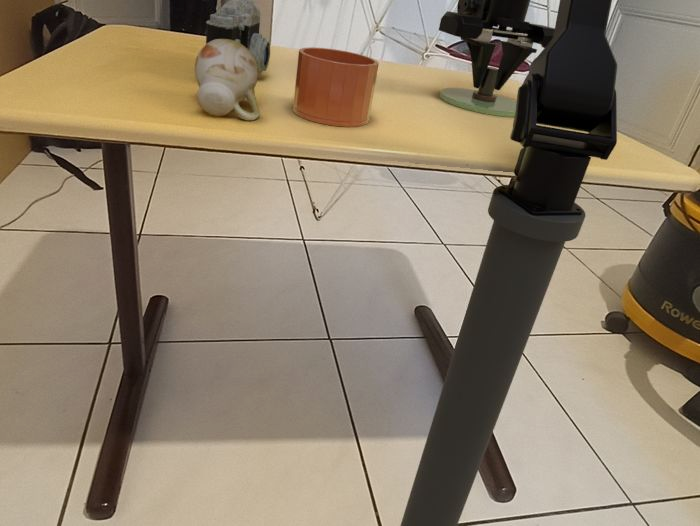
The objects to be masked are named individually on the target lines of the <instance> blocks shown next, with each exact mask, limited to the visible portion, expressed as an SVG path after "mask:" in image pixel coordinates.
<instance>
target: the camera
mask: <svg viewBox="0 0 700 526" xmlns="http://www.w3.org/2000/svg"><path fill="white" fill-rule="evenodd" d="M205 23H206V27H205V28H206V31H205V32H206V33H205V39H206V40H205V45H206V44H207V43H209V42H210V41H212V40H215V39H229V40H233V41H236V42H238V43H240V44H242V45H243V46H245V47H246V48H247V49H248V50H249V51H250V52H251V54H252V55H253V57H254V59H255V60H256V63H257V67H258V74H261V73H263V72H266V71H267V70H268V67H269V64H270V59H271V42H270V41H268V40H267V39H266V37H263V34H261V33H260V27H261V26H260V25H261V12H260V9H259V7H258V5H257V4H256V2H255V1H254V0H228V1H226V2H225V3H224V4H223V5H222V6H221V7H220V10H218V11H217V12H214V13H212V14H210V15H209V19H208V20H206V22H205Z"/></svg>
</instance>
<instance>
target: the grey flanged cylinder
mask: <svg viewBox="0 0 700 526" xmlns="http://www.w3.org/2000/svg"><path fill="white" fill-rule="evenodd" d="M498 74H499V69H498V68H497V67H493V66H488V68H487V70H486V73H485V76H484V79H483V81H482V83H481V85H480V87H479V88H477V90H478V91H474V92H473V95H472V97H473V98H475V99H477V100H481V101H485V102H495V101H496V98H497V96H496V95H494V94H495V93H494V92H495V90H496V89H495V85H496V81H497V78H498Z"/></svg>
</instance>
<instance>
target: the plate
mask: <svg viewBox="0 0 700 526" xmlns="http://www.w3.org/2000/svg"><path fill="white" fill-rule="evenodd" d="M474 91H478V89H472V88H464V87H445V88H442V89H440V92H439V98H440V99H441V100H443V101H444V102H445V103H448V104H450V105H452V106H454V107H455V106H456V107H458V108H460V109H464V110H468V111H472V112H475V113H480V114H485V115H492V116H498V117H508V118H514V117H515V112H516V103H517V99H513V98H510V97H508V96H504V95H501V94H497V93H493V94H494V95H496V96H497V98H496V101H495V102H485V101H481V100H477V99H475V98H473V97H472V95H473V92H474Z"/></svg>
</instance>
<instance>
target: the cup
mask: <svg viewBox="0 0 700 526" xmlns="http://www.w3.org/2000/svg"><path fill="white" fill-rule="evenodd" d="M379 65H380V63H379V61H378V60H376V59H374V58H372V57H370V56H367V55H363V54H360V53H357V52H352V51H347V50H341V49H334V48H328V47H327V48H325V47H314V46H313V47H302V48H299V49H298V57H297V65H296V76H295V85H294V95H293V103H292V111H293V113H294V114H295V115H297V116H298V117H300V118H301V119H304V120H308V121H309V122H312V123H318V124H322V125H327V126H334V127H342V128H343V127H347V128H348V127H349V128H350V127H353V128H354V127H361V126H365V125H367V124H368V123H369V122H370V121H369V120H370V117H371V112H372V106H373V105H372V104H373V99H374V94H375V88H376V82H377V77H378V70H379Z"/></svg>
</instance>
